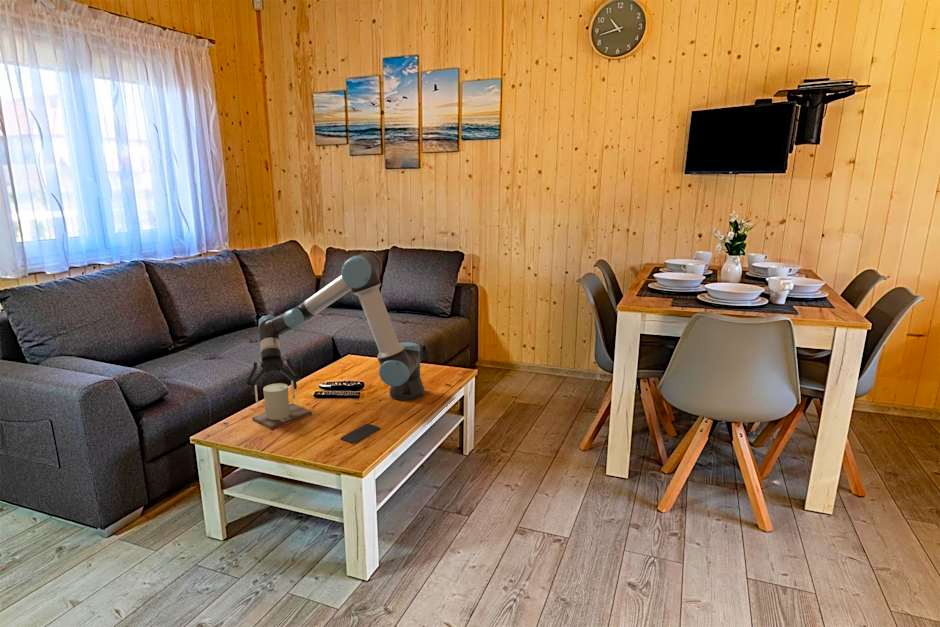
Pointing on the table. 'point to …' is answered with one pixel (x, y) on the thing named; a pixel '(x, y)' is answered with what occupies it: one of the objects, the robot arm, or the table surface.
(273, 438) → the table surface
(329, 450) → the table surface
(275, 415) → the can
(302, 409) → the grey flat block
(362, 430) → the phone
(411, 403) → the table surface
